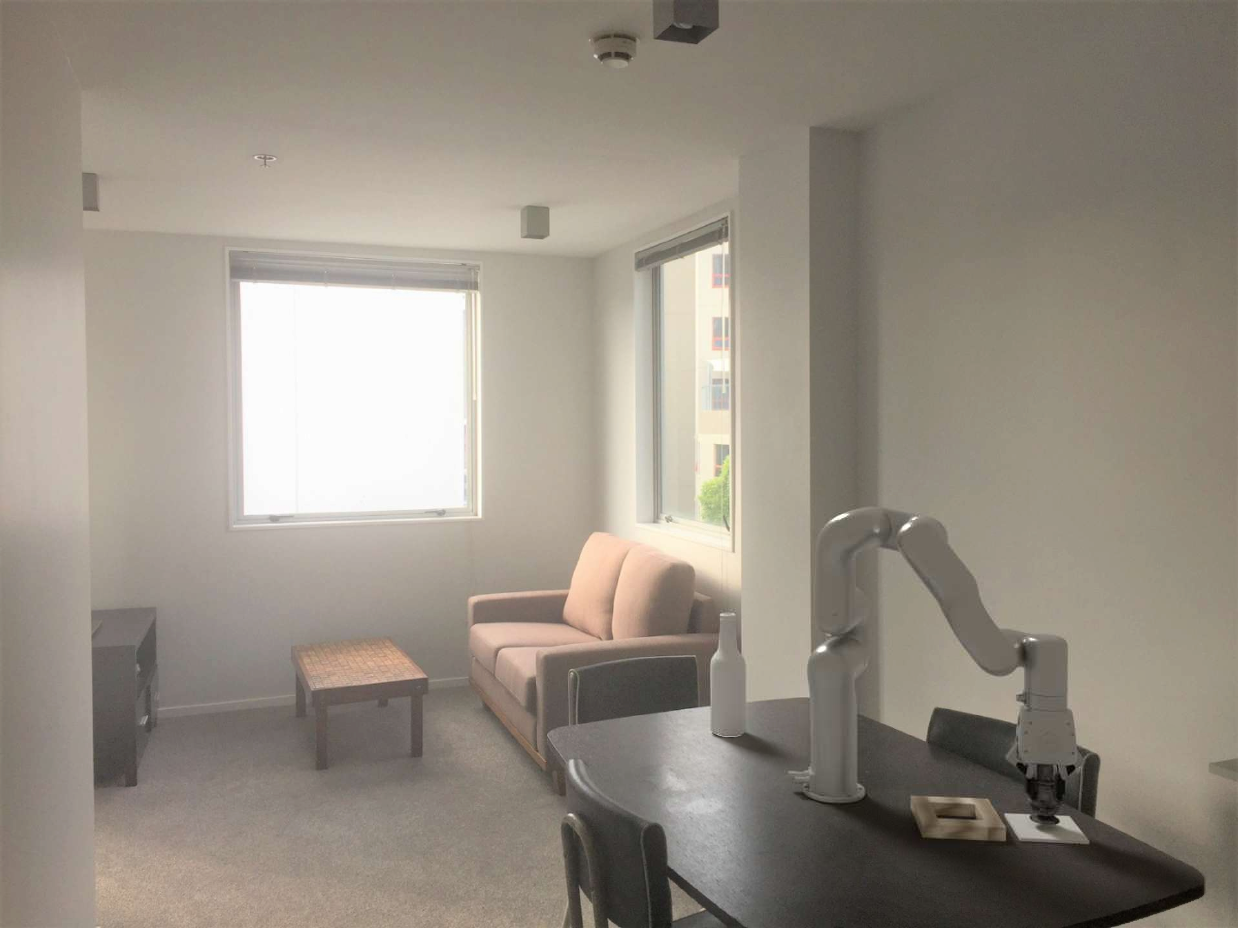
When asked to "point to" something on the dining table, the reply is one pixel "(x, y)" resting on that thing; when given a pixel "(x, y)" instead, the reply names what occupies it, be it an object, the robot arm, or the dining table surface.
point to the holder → (979, 829)
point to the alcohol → (728, 682)
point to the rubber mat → (1046, 830)
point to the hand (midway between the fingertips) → (1044, 796)
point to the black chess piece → (1045, 797)
